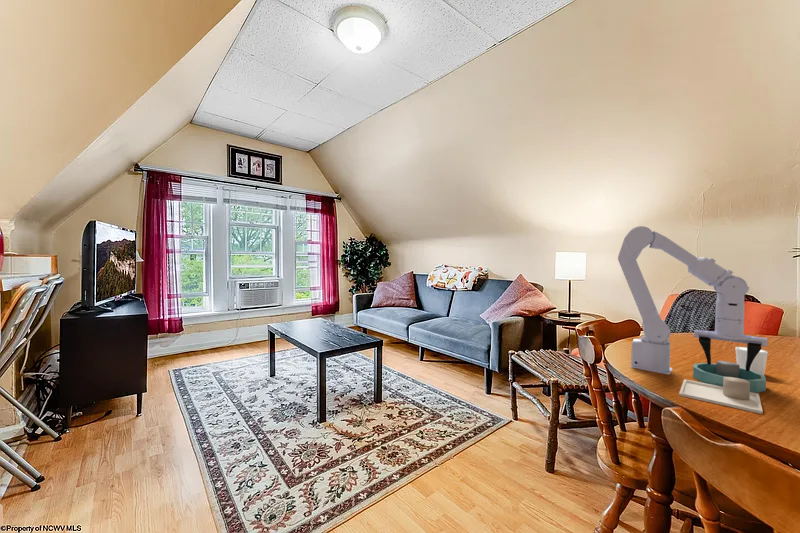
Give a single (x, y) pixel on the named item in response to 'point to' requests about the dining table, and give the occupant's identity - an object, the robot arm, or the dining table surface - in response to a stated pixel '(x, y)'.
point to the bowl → (709, 376)
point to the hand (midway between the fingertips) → (727, 366)
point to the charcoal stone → (727, 369)
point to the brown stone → (736, 388)
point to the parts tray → (719, 396)
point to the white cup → (758, 362)
